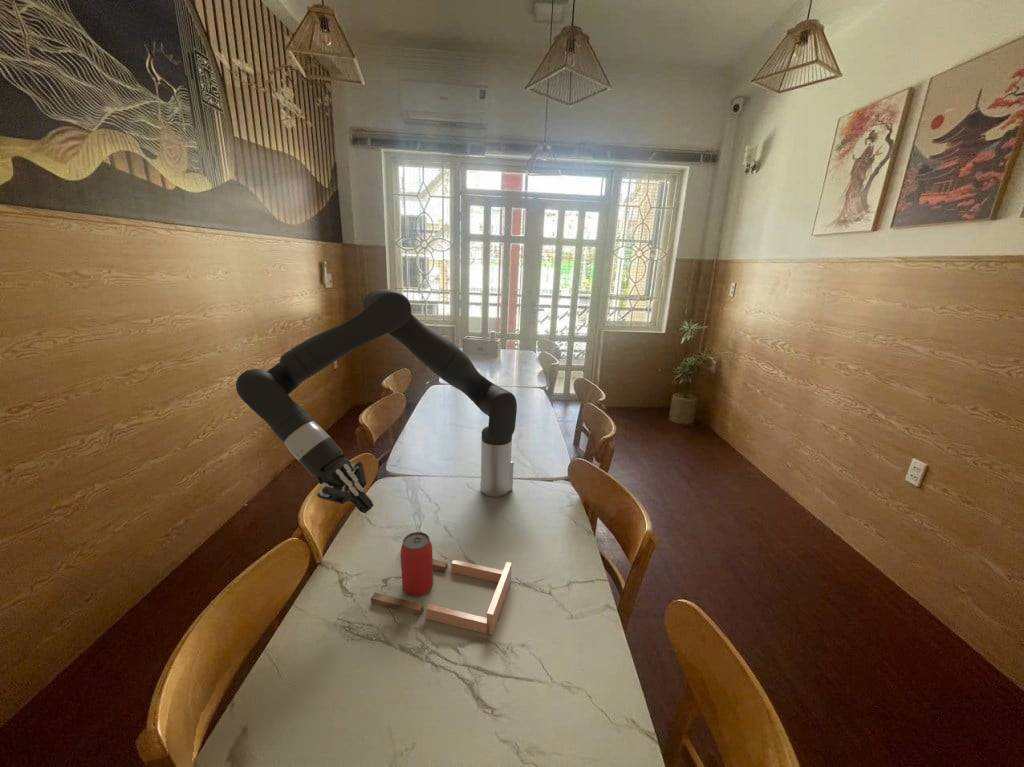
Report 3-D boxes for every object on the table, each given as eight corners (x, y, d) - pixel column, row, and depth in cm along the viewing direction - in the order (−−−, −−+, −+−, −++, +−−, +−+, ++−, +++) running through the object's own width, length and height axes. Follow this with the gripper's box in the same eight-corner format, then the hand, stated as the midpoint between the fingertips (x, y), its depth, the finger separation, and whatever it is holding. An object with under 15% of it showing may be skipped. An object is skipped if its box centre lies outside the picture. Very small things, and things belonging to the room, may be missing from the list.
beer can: (438, 579, 92) (437, 534, 88) (423, 601, 86) (421, 553, 82) (413, 572, 94) (411, 527, 90) (396, 592, 88) (393, 545, 84)
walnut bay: (371, 604, 85) (370, 598, 84) (404, 558, 98) (404, 552, 98) (419, 616, 82) (419, 610, 82) (447, 567, 96) (447, 562, 95)
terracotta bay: (426, 618, 82) (425, 598, 80) (453, 568, 95) (453, 550, 94) (492, 635, 79) (493, 614, 77) (510, 581, 92) (511, 562, 91)
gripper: (300, 451, 78) (361, 519, 79) (343, 426, 90) (396, 485, 91) (280, 472, 81) (339, 537, 81) (325, 445, 93) (376, 501, 94)
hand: (369, 509), depth 86 cm, fingers closed
